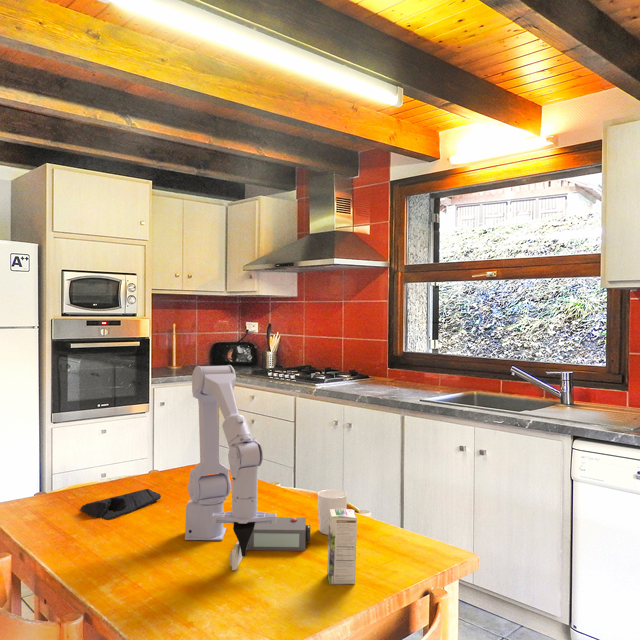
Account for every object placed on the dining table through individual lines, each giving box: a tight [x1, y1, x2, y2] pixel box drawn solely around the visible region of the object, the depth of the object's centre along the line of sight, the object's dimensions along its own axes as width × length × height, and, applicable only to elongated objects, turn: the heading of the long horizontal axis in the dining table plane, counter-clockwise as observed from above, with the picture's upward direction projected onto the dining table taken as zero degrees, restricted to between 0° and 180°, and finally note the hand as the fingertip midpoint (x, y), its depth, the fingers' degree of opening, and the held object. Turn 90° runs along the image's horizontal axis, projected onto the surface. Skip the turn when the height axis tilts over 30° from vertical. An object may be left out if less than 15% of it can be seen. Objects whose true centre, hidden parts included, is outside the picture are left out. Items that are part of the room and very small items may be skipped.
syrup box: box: [327, 508, 358, 585], centre depth 130 cm, size 6×6×14 cm
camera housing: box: [247, 516, 311, 552], centre depth 150 cm, size 15×9×6 cm, turn 91°
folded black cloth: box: [79, 488, 162, 520], centre depth 177 cm, size 15×22×5 cm
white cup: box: [317, 488, 348, 536], centre depth 159 cm, size 8×8×10 cm
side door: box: [229, 540, 248, 571], centre depth 139 cm, size 13×1×5 cm, turn 175°
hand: (243, 554), depth 136 cm, fingers closed
